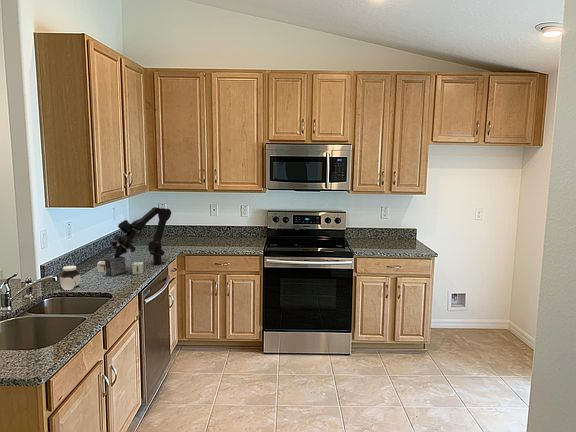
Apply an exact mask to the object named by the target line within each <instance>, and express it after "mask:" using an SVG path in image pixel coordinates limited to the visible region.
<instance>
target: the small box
mask: <svg viewBox="0 0 576 432" xmlns="http://www.w3.org/2000/svg"><path fill="white" fill-rule="evenodd" d="M104 261H105V266H106V272H105V275H106V276H108V277H115V276H120V275H123V274H126V273H127V266H126V257H125V256H121V255H120V256H118V257H117V258H115V257H114V256H113V257H108V258H105V259H104Z"/></svg>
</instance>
